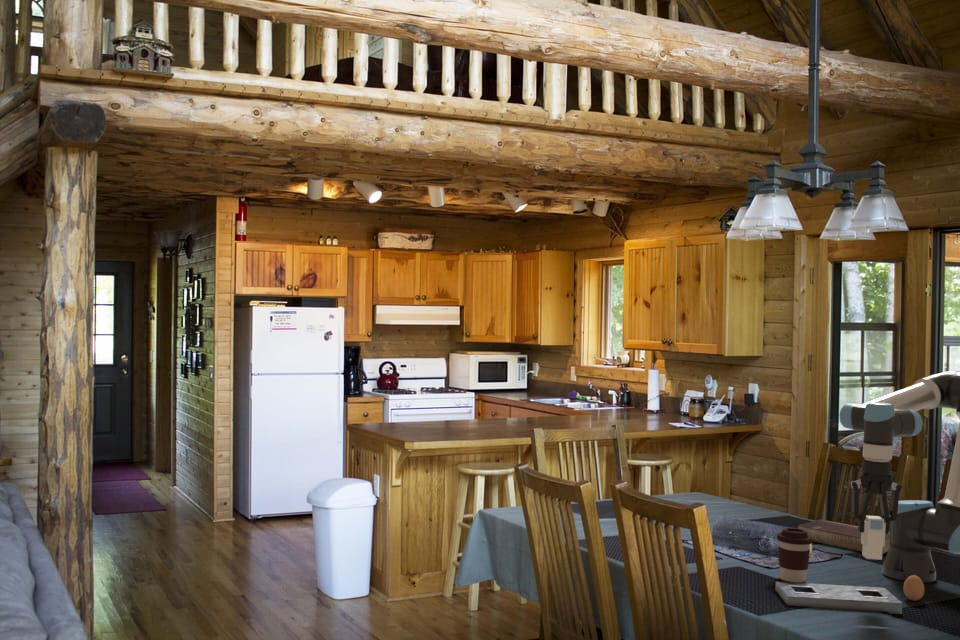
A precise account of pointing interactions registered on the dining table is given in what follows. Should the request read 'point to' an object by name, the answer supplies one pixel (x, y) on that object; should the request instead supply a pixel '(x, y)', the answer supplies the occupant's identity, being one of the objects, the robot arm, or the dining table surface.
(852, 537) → the hardback book
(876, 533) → the plug
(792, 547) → the coffee cup
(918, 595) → the egg
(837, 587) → the panel
